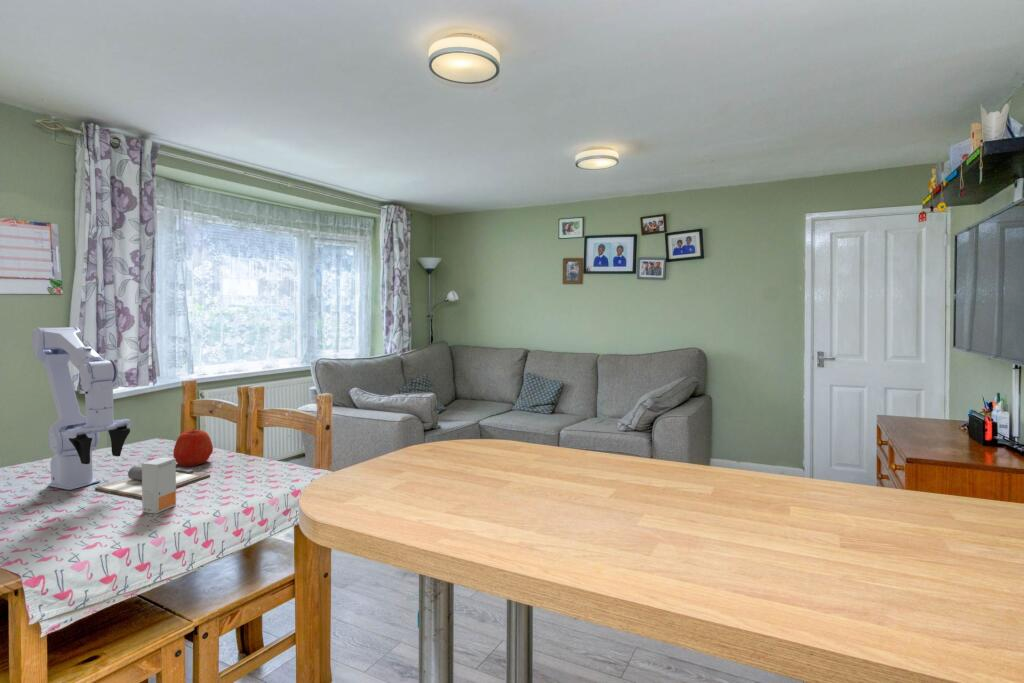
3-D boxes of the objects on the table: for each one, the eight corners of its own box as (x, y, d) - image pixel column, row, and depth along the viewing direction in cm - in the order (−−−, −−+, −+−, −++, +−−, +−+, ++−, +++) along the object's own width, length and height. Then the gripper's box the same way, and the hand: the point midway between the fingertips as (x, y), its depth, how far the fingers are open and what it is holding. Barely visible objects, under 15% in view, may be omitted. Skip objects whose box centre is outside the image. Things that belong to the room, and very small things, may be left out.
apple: (220, 461, 173) (219, 428, 173) (185, 470, 164) (184, 435, 163) (201, 456, 179) (200, 424, 178) (166, 464, 170) (165, 430, 169)
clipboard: (94, 489, 146) (94, 485, 146) (165, 469, 165) (165, 465, 165) (142, 499, 140) (142, 494, 140) (210, 476, 159) (210, 472, 158)
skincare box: (157, 514, 130) (155, 464, 129) (141, 512, 131) (140, 463, 130) (177, 505, 136) (176, 457, 135) (162, 503, 137) (161, 456, 136)
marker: (130, 481, 153) (122, 473, 151) (140, 471, 155) (133, 463, 153) (164, 487, 148) (156, 479, 146) (174, 476, 151) (166, 468, 149)
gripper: (79, 413, 132) (81, 469, 133) (138, 404, 146) (139, 454, 147) (60, 411, 135) (62, 465, 136) (120, 402, 148) (121, 451, 149)
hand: (101, 459), depth 141 cm, fingers open, 7 cm apart
